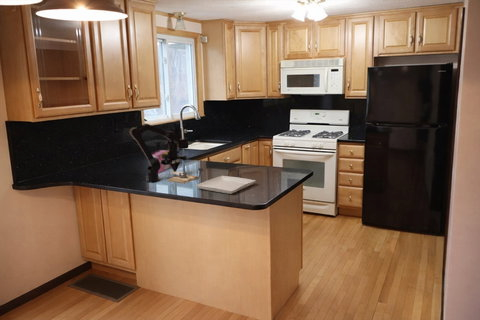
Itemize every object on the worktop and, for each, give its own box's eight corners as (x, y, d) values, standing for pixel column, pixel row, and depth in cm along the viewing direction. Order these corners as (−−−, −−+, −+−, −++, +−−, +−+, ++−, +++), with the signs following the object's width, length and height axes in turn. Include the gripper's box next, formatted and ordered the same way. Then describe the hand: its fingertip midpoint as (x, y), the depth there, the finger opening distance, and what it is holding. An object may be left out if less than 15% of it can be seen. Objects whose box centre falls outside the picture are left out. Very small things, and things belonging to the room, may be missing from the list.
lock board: (184, 183, 262) (184, 180, 261) (168, 181, 269) (167, 178, 269) (198, 178, 274) (198, 175, 274) (182, 176, 282) (182, 174, 281)
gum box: (161, 166, 319) (160, 149, 316) (171, 166, 317) (170, 149, 314) (149, 173, 296) (147, 155, 293) (159, 173, 294) (158, 155, 291)
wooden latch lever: (188, 176, 272) (188, 172, 271) (183, 178, 268) (183, 173, 267) (173, 175, 279) (173, 170, 278) (169, 176, 275) (168, 171, 274)
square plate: (195, 190, 245) (195, 184, 244) (222, 180, 267) (221, 174, 266) (231, 196, 230) (231, 190, 229) (256, 185, 252) (256, 179, 251)
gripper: (175, 146, 285) (177, 168, 289) (154, 151, 271) (156, 173, 275) (186, 148, 278) (188, 170, 281) (165, 152, 264) (167, 175, 268)
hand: (175, 172), depth 276 cm, fingers closed
